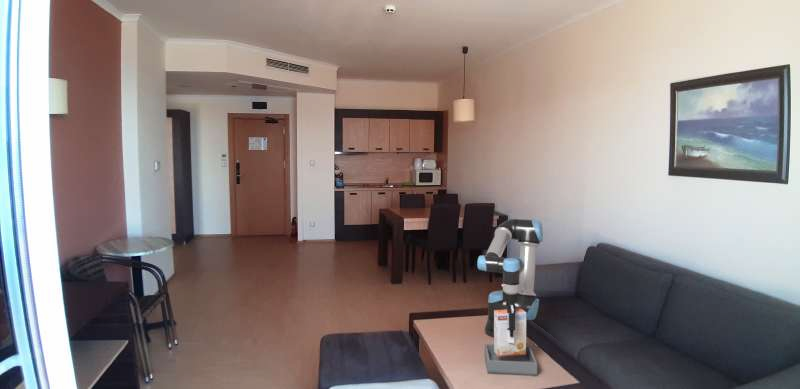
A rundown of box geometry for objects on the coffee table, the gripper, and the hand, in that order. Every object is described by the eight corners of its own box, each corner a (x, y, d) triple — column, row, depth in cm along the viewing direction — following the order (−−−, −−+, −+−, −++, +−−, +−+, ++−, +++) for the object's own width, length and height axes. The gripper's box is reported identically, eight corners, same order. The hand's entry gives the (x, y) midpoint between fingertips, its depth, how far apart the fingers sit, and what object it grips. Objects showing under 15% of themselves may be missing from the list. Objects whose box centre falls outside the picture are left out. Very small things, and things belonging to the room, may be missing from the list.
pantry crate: (484, 355, 220) (484, 344, 219) (529, 357, 218) (530, 345, 217) (487, 373, 202) (487, 361, 202) (536, 376, 200) (537, 363, 199)
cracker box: (520, 349, 213) (521, 307, 211) (526, 355, 207) (527, 312, 205) (493, 351, 211) (493, 309, 209) (497, 357, 205) (498, 313, 203)
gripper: (500, 285, 217) (499, 330, 219) (505, 298, 197) (504, 348, 199) (515, 285, 216) (514, 331, 218) (522, 299, 196) (521, 348, 198)
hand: (509, 339), depth 209 cm, fingers closed on cracker box, 7 cm apart
